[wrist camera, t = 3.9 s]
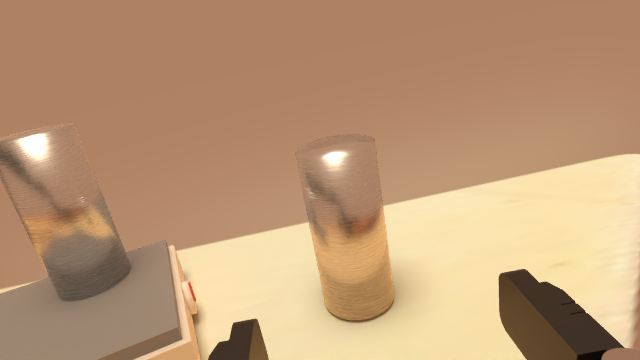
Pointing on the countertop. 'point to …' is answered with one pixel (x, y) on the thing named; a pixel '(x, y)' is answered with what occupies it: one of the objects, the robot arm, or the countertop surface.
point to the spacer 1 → (63, 210)
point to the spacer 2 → (347, 224)
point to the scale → (106, 316)
